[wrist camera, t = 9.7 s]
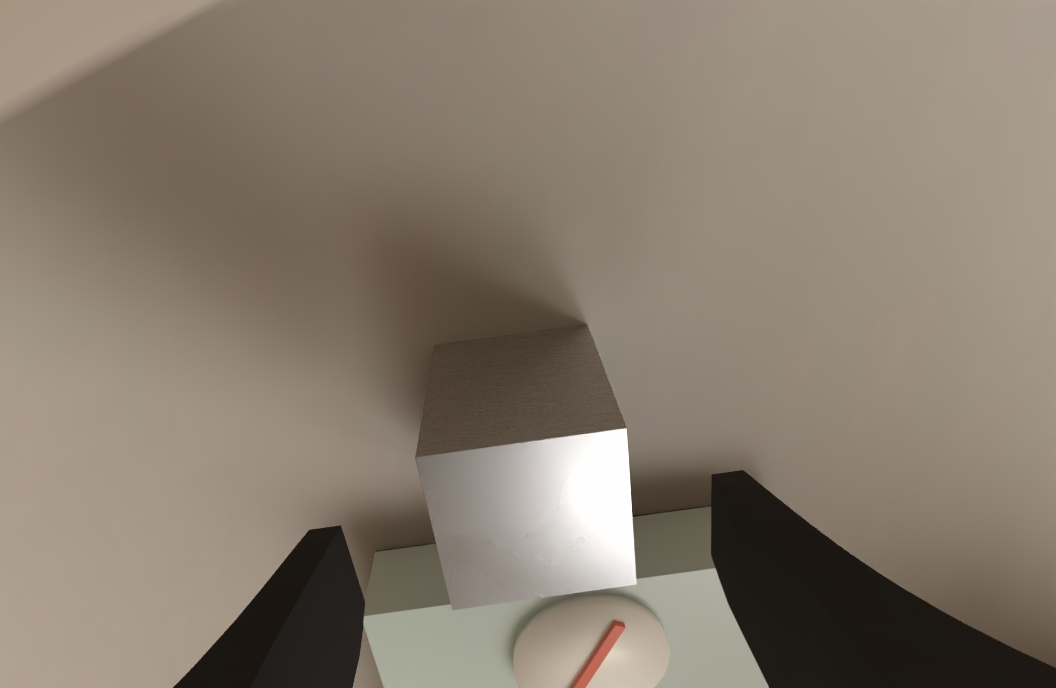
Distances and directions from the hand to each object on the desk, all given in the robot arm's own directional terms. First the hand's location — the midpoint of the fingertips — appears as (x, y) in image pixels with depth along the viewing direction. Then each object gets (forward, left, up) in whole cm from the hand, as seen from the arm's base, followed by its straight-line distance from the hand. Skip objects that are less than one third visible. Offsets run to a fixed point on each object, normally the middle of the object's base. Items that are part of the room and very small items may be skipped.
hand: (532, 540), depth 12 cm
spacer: (0, 0, -6) cm, 6 cm away
